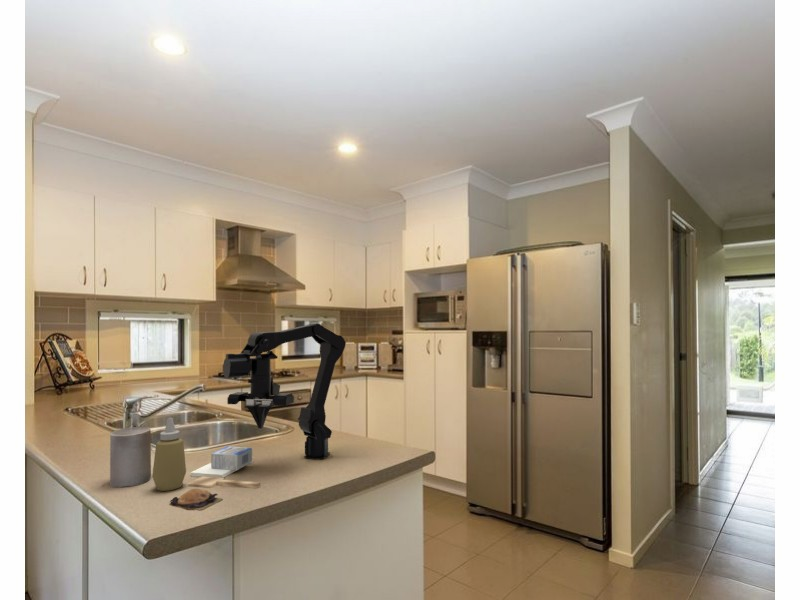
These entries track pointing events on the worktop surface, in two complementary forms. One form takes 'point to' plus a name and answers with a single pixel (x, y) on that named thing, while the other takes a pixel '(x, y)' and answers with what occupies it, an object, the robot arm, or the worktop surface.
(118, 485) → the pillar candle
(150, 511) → the worktop surface
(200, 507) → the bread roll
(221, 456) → the medicine box
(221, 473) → the mat
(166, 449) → the squeeze bottle
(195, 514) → the worktop surface
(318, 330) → the robot arm
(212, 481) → the wooden turner
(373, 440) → the worktop surface
